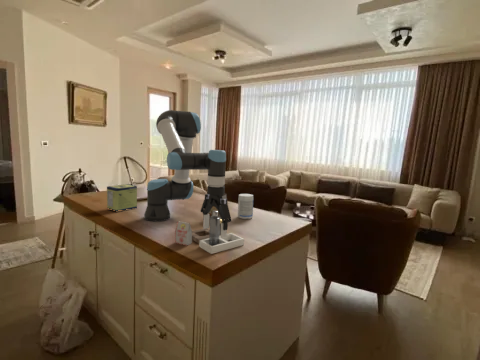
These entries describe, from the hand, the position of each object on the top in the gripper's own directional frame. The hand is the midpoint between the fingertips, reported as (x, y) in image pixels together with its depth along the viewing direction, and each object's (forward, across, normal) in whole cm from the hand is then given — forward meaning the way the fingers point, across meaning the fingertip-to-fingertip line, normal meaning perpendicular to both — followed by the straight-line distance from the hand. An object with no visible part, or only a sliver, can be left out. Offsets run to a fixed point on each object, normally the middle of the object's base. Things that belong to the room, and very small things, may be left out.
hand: (214, 232), depth 119 cm
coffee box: (+7, +37, -28) cm, 47 cm away
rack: (+7, 0, -4) cm, 8 cm away
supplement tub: (+7, +30, -45) cm, 55 cm away
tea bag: (+8, +13, +8) cm, 17 cm away
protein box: (+8, +88, +13) cm, 89 cm away
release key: (+6, +14, -13) cm, 20 cm away
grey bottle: (+7, 0, 0) cm, 7 cm away
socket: (+7, +14, -6) cm, 17 cm away
